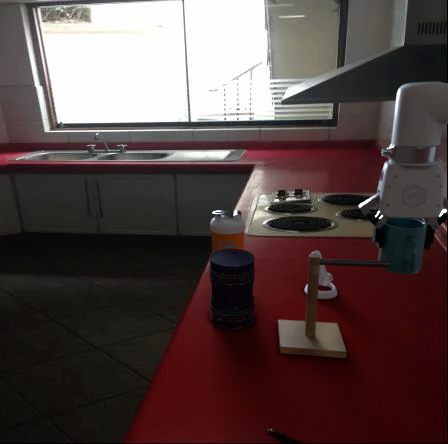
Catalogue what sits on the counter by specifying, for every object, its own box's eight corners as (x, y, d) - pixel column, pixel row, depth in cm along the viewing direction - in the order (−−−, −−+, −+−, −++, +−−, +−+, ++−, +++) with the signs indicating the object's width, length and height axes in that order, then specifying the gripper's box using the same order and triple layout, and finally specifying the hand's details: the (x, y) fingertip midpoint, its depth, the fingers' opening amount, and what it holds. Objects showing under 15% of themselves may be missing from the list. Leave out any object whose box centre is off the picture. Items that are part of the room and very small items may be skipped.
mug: (373, 258, 86) (378, 216, 83) (413, 259, 84) (419, 217, 81) (388, 281, 76) (394, 235, 73) (433, 283, 74) (441, 235, 71)
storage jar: (250, 332, 89) (251, 268, 84) (205, 326, 92) (203, 264, 88) (257, 309, 98) (258, 250, 93) (216, 304, 101) (214, 247, 97)
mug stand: (372, 331, 87) (382, 247, 81) (386, 361, 77) (398, 269, 72) (278, 325, 91) (280, 245, 85) (280, 353, 82) (283, 265, 76)
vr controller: (306, 257, 112) (328, 249, 106) (322, 301, 108) (345, 295, 103) (288, 259, 107) (311, 250, 102) (304, 305, 104) (328, 298, 98)
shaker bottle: (210, 277, 116) (208, 207, 109) (242, 275, 115) (242, 206, 109) (212, 292, 107) (211, 218, 101) (247, 291, 107) (248, 216, 101)
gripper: (365, 159, 73) (356, 252, 79) (479, 157, 69) (461, 255, 75) (356, 152, 80) (348, 238, 86) (459, 150, 76) (444, 240, 82)
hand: (401, 245), depth 80 cm, fingers closed on mug, 7 cm apart
